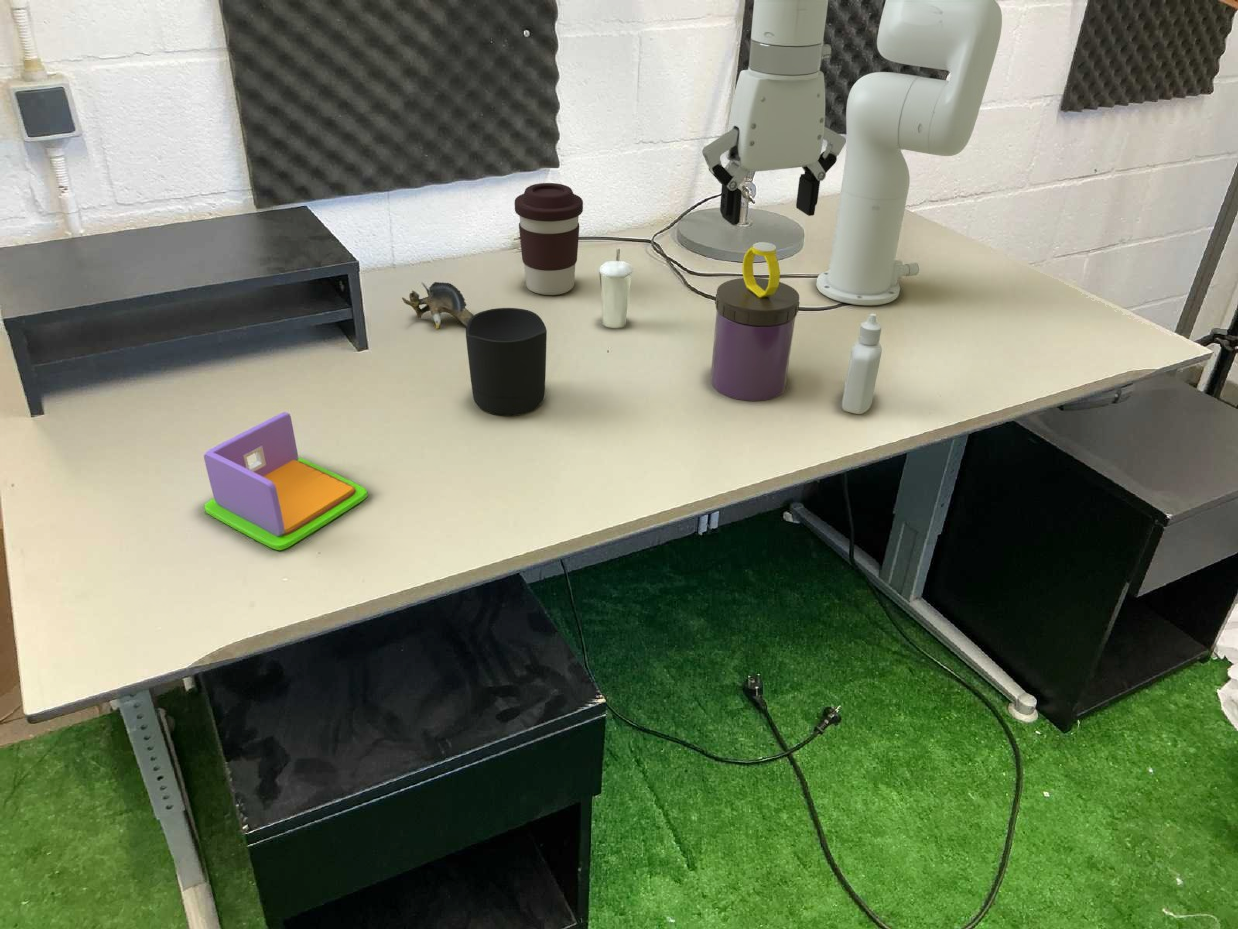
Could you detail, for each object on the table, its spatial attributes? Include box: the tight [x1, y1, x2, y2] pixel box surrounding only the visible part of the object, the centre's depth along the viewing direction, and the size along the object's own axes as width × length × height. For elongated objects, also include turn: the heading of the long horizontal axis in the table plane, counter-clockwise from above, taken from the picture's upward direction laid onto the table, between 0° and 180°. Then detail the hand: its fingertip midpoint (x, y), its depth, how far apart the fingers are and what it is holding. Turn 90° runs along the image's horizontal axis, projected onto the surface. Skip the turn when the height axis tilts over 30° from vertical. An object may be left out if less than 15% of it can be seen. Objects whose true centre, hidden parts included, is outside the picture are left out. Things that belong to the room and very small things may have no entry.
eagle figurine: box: [401, 280, 475, 330], centre depth 134 cm, size 8×7×9 cm
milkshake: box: [598, 247, 633, 329], centre depth 134 cm, size 4×5×10 cm
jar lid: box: [714, 277, 800, 326], centre depth 116 cm, size 10×10×2 cm
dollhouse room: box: [203, 411, 368, 551], centre depth 96 cm, size 12×12×7 cm
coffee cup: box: [514, 182, 584, 296], centre depth 143 cm, size 10×10×15 cm
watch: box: [741, 241, 781, 298], centre depth 114 cm, size 6×3×6 cm, turn 27°
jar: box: [709, 309, 796, 402], centre depth 119 cm, size 10×10×12 cm
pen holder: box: [465, 307, 548, 417], centre depth 115 cm, size 9×9×10 cm
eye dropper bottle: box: [841, 313, 883, 415], centre depth 115 cm, size 4×6×12 cm
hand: (768, 216), depth 111 cm, fingers open, 9 cm apart
